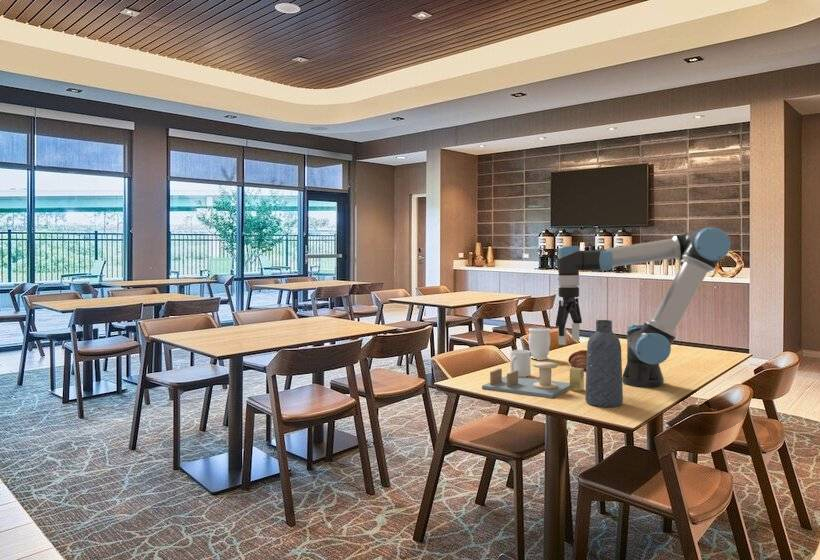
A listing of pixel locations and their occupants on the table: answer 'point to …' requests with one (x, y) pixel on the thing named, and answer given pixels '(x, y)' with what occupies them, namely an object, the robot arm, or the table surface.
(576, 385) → the beige upright block
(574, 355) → the pastry
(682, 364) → the table surface
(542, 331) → the jar
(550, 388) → the board
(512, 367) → the mug
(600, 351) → the vase
